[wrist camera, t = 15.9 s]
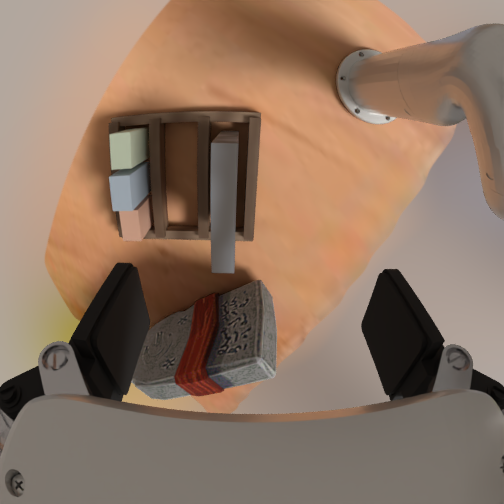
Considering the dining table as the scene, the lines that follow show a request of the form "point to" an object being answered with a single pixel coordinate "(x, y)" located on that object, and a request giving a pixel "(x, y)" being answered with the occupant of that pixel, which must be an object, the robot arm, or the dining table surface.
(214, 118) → the walnut rack
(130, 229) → the terracotta offcut board
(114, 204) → the slate offcut board
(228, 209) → the charcoal panel
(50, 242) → the dining table surface
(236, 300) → the decorative stone tablet
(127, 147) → the sage offcut board
